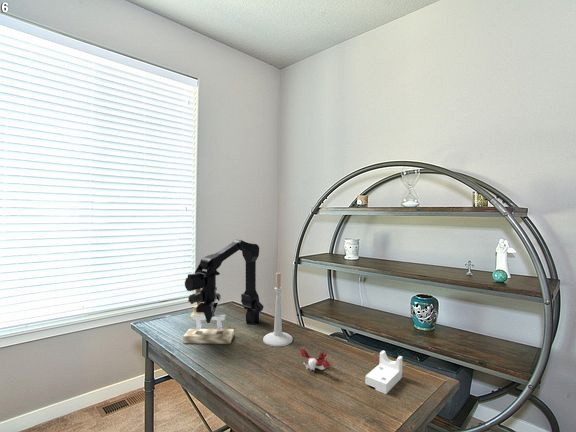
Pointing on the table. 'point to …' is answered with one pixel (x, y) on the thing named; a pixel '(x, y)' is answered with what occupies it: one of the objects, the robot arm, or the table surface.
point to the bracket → (385, 374)
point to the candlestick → (278, 322)
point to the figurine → (315, 360)
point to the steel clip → (214, 317)
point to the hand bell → (196, 306)
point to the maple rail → (209, 336)
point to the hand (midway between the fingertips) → (209, 321)
